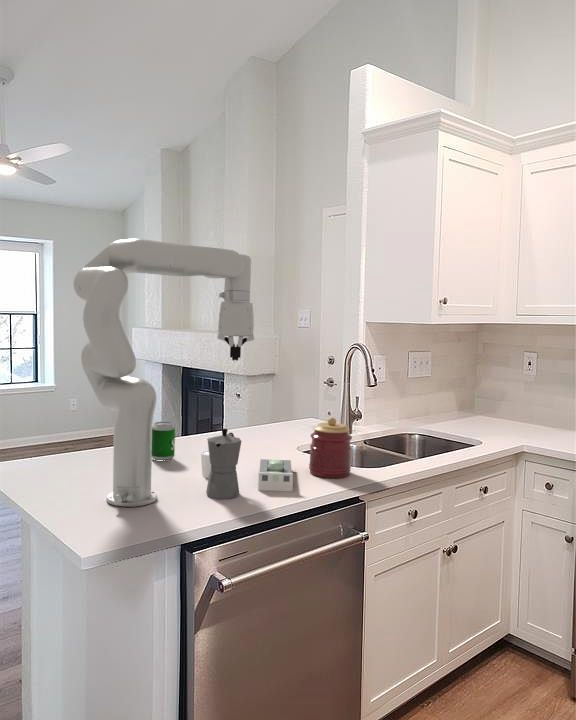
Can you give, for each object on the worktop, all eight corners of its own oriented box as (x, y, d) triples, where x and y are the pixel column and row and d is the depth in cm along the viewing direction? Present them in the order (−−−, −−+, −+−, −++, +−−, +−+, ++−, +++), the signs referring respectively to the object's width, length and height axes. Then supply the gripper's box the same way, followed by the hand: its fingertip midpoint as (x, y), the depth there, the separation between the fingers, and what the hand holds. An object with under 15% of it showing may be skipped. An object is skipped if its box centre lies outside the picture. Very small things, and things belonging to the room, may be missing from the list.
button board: (292, 491, 169) (293, 474, 169) (258, 490, 169) (258, 472, 169) (290, 469, 193) (290, 454, 192) (260, 468, 193) (260, 453, 192)
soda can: (168, 463, 195) (169, 426, 195) (147, 461, 197) (147, 424, 196) (177, 457, 203) (178, 422, 202) (156, 455, 204) (157, 420, 203)
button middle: (283, 474, 179) (283, 464, 179) (268, 473, 179) (268, 464, 179) (282, 470, 183) (283, 460, 183) (268, 469, 183) (268, 460, 183)
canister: (358, 476, 188) (361, 420, 186) (323, 480, 181) (325, 422, 180) (335, 466, 199) (337, 413, 198) (301, 470, 193) (303, 415, 191)
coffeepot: (233, 503, 157) (235, 434, 156) (198, 500, 159) (200, 432, 157) (247, 486, 172) (249, 424, 171) (214, 484, 174) (216, 421, 172)
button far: (282, 472, 186) (282, 463, 186) (268, 471, 186) (268, 462, 186) (282, 468, 190) (282, 459, 190) (268, 468, 190) (268, 459, 190)
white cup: (201, 479, 178) (202, 455, 178) (199, 473, 185) (199, 450, 184) (225, 478, 180) (225, 455, 179) (221, 472, 187) (222, 449, 186)
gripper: (210, 296, 173) (208, 360, 175) (262, 298, 174) (260, 362, 175) (212, 296, 181) (211, 358, 182) (263, 298, 181) (260, 360, 183)
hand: (235, 360), depth 179 cm, fingers closed
